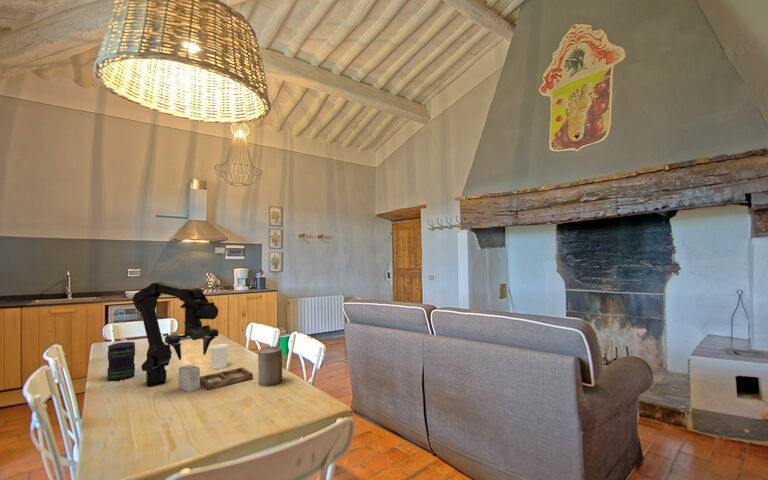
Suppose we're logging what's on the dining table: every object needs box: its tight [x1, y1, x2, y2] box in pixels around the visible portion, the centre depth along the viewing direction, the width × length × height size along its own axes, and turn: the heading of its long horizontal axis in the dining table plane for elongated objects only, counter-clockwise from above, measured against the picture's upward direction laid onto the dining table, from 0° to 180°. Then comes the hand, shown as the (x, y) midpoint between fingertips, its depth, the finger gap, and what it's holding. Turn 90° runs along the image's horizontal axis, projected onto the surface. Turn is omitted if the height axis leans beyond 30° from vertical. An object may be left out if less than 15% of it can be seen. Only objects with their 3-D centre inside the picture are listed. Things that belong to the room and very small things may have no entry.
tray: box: [200, 367, 254, 391], centre depth 150 cm, size 18×12×2 cm, turn 132°
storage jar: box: [107, 341, 136, 382], centre depth 156 cm, size 10×10×15 cm
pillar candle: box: [257, 345, 283, 387], centre depth 148 cm, size 10×10×15 cm
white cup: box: [209, 343, 229, 370], centre depth 170 cm, size 8×8×10 cm
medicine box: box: [178, 364, 201, 393], centre depth 142 cm, size 8×4×9 cm, turn 58°
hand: (192, 357), depth 144 cm, fingers open, 9 cm apart
